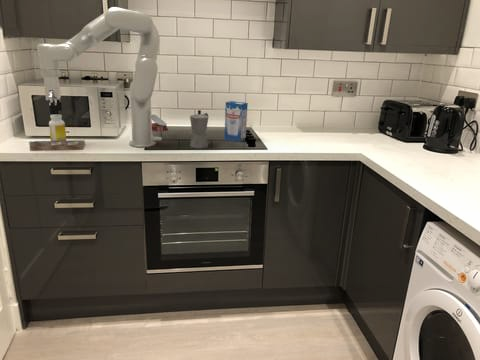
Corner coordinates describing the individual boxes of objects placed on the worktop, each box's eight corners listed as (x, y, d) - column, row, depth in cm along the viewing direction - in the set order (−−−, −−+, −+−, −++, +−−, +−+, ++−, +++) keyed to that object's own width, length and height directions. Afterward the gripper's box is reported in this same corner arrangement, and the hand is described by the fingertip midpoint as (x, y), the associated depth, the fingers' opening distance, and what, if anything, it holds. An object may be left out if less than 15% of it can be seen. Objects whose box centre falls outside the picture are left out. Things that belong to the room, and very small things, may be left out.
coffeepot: (201, 150, 188) (201, 113, 182) (184, 147, 191) (184, 111, 185) (215, 143, 201) (216, 108, 195) (199, 141, 205) (199, 106, 199)
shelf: (84, 144, 189) (84, 136, 188) (82, 149, 180) (82, 141, 179) (35, 145, 184) (33, 136, 182) (30, 150, 174) (29, 142, 173)
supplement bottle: (69, 141, 184) (67, 114, 180) (61, 145, 178) (58, 117, 174) (56, 140, 185) (53, 113, 181) (47, 143, 179) (44, 115, 175)
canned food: (159, 135, 233) (165, 119, 234) (167, 137, 226) (173, 120, 226) (142, 128, 226) (148, 112, 227) (150, 129, 218) (156, 113, 219)
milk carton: (245, 139, 212) (247, 102, 206) (240, 142, 207) (242, 104, 200) (229, 137, 216) (231, 100, 210) (224, 139, 211) (225, 102, 205)
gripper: (45, 71, 178) (51, 109, 184) (37, 75, 162) (43, 116, 168) (63, 71, 180) (68, 108, 186) (56, 75, 164) (62, 115, 170)
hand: (56, 112), depth 177 cm, fingers open, 9 cm apart
